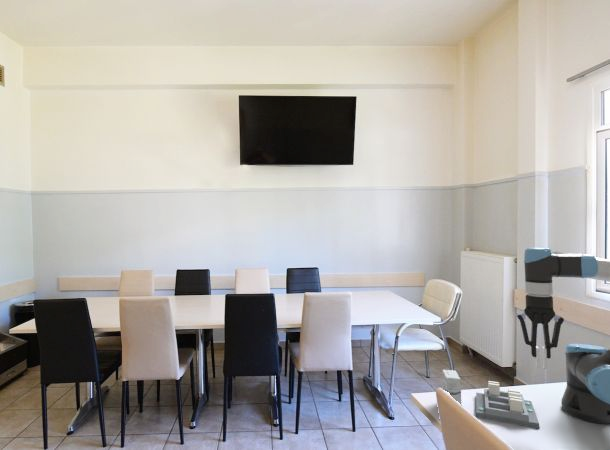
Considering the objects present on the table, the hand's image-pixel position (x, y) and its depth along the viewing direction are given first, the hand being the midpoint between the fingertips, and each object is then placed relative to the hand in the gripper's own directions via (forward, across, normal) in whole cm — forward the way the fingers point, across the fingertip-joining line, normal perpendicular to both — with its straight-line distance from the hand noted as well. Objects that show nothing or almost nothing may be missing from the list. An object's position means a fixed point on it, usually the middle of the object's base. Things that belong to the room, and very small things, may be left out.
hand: (541, 367), depth 117 cm
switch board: (+18, +10, -6) cm, 22 cm away
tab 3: (+17, +8, 0) cm, 18 cm away
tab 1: (+17, +14, -11) cm, 24 cm away
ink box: (+19, +28, -2) cm, 33 cm away
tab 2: (+17, +8, -5) cm, 19 cm away
